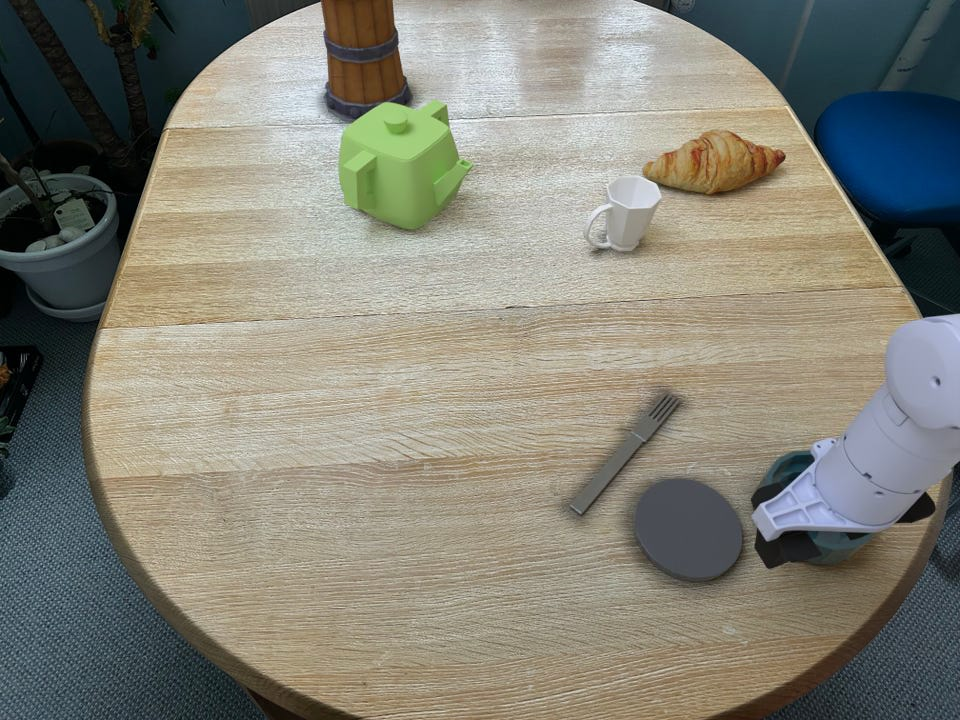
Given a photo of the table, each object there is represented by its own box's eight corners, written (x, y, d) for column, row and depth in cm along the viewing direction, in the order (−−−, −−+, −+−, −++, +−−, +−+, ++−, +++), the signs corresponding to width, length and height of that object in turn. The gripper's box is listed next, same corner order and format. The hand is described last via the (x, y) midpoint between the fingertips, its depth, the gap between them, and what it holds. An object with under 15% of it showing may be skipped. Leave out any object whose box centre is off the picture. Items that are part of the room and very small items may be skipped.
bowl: (875, 512, 65) (896, 493, 62) (834, 588, 61) (854, 572, 58) (780, 453, 69) (795, 432, 66) (734, 520, 65) (747, 501, 62)
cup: (659, 248, 89) (674, 199, 82) (595, 272, 86) (606, 223, 79) (628, 217, 92) (640, 168, 86) (566, 239, 89) (574, 189, 83)
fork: (582, 517, 65) (583, 515, 64) (567, 506, 65) (568, 503, 65) (679, 402, 73) (680, 400, 73) (665, 394, 74) (666, 391, 74)
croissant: (641, 213, 98) (660, 189, 91) (629, 149, 100) (646, 121, 92) (778, 197, 100) (807, 172, 93) (763, 135, 102) (791, 106, 94)
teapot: (509, 192, 95) (514, 108, 85) (423, 273, 85) (418, 188, 75) (406, 148, 102) (400, 64, 91) (315, 218, 91) (296, 133, 81)
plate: (757, 525, 64) (761, 521, 64) (705, 604, 60) (709, 601, 59) (667, 464, 68) (670, 459, 68) (612, 534, 64) (614, 529, 63)
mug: (297, 78, 114) (270, -53, 98) (373, 55, 119) (359, -72, 103) (348, 133, 104) (328, -2, 88) (429, 106, 109) (423, -26, 93)
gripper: (936, 379, 47) (849, 474, 57) (756, 432, 44) (700, 523, 54) (1015, 463, 43) (906, 550, 53) (823, 529, 40) (747, 607, 50)
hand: (805, 542), depth 54 cm, fingers open, 7 cm apart
